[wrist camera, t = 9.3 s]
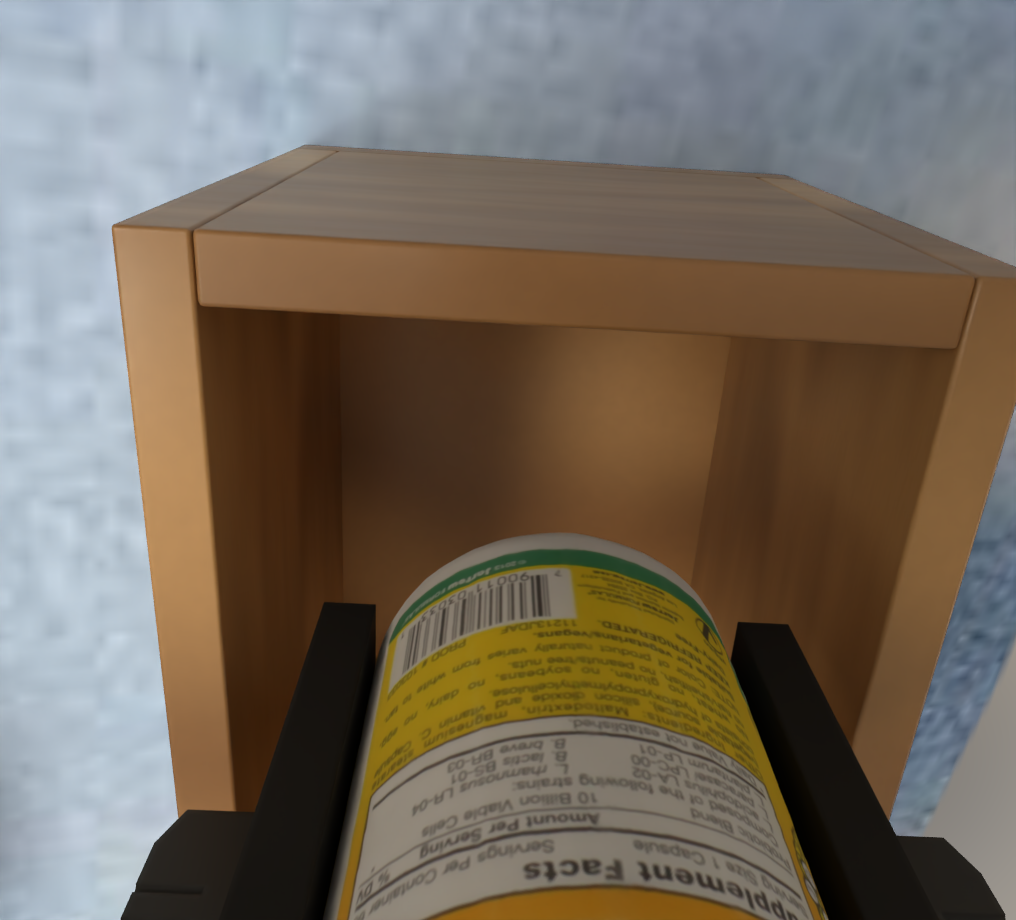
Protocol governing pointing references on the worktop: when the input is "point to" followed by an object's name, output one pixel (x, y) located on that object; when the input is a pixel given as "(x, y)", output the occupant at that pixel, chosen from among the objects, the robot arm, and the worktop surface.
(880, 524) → the chest
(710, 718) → the supplement bottle
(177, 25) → the worktop surface
